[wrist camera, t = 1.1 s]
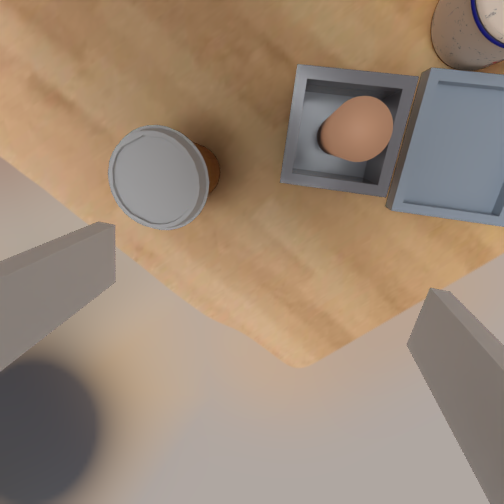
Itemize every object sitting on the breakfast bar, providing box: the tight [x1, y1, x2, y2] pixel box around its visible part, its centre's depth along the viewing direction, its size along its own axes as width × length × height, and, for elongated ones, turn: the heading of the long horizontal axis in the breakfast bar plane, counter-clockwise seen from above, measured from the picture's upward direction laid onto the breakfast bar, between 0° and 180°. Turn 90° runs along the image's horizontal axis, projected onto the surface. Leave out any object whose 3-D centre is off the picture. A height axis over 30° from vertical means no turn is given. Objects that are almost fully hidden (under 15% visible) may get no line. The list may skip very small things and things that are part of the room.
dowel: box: [317, 96, 393, 162], centre depth 27 cm, size 4×4×15 cm
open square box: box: [280, 64, 419, 197], centre depth 31 cm, size 10×10×8 cm
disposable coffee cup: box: [108, 125, 220, 230], centre depth 33 cm, size 10×10×12 cm
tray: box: [386, 68, 504, 227], centre depth 32 cm, size 14×12×2 cm
